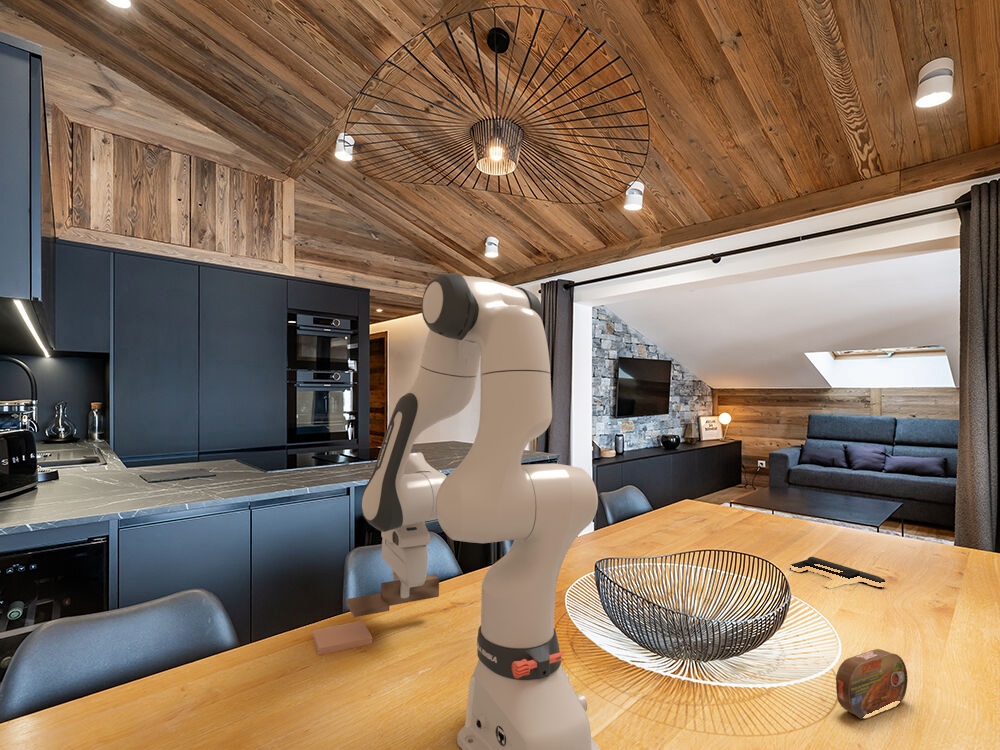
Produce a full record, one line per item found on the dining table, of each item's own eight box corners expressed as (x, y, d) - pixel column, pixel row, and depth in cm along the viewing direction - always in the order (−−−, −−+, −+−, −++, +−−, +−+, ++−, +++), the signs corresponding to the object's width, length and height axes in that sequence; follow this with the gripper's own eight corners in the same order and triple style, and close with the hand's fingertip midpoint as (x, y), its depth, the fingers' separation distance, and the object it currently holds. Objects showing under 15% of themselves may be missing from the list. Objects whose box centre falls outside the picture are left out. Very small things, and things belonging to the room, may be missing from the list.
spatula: (431, 588, 114) (431, 570, 114) (442, 600, 108) (443, 581, 108) (346, 603, 105) (347, 584, 105) (354, 617, 99) (354, 596, 99)
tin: (851, 725, 78) (851, 669, 78) (831, 713, 81) (831, 659, 81) (910, 702, 84) (909, 651, 84) (889, 692, 87) (888, 642, 87)
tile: (372, 637, 100) (319, 648, 95) (372, 645, 100) (318, 657, 95) (362, 620, 107) (312, 630, 102) (362, 628, 107) (312, 638, 102)
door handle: (853, 589, 127) (888, 576, 134) (778, 564, 145) (813, 553, 152) (853, 602, 127) (888, 588, 134) (778, 576, 145) (813, 564, 152)
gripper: (375, 517, 115) (374, 579, 115) (402, 542, 97) (400, 615, 97) (402, 514, 118) (401, 574, 118) (433, 538, 100) (432, 609, 100)
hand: (401, 593), depth 107 cm, fingers closed on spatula, 2 cm apart
